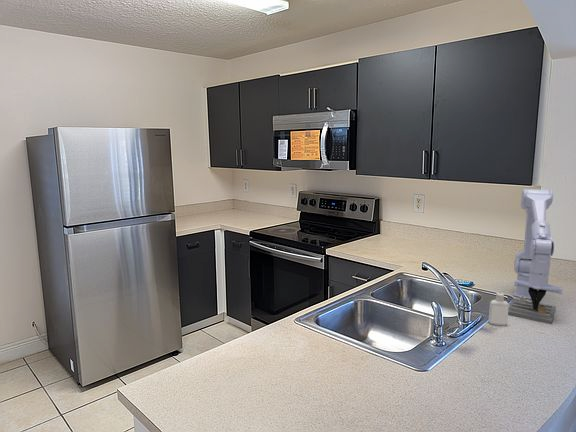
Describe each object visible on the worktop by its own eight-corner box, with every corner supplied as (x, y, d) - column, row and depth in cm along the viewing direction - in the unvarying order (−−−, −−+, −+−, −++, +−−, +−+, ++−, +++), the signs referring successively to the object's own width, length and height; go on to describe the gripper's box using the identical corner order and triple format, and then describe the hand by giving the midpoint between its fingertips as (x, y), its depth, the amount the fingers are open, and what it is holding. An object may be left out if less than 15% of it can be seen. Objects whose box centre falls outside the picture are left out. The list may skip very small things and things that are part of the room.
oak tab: (538, 311, 146) (539, 304, 145) (545, 313, 145) (546, 305, 144) (538, 313, 144) (539, 305, 144) (544, 314, 143) (545, 306, 143)
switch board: (513, 301, 160) (513, 296, 160) (555, 309, 152) (556, 304, 151) (506, 314, 147) (506, 308, 147) (551, 324, 139) (552, 318, 139)
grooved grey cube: (519, 301, 155) (520, 294, 155) (525, 302, 154) (526, 295, 154) (518, 303, 154) (519, 295, 153) (524, 304, 153) (525, 297, 152)
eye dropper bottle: (504, 327, 136) (508, 293, 134) (486, 323, 140) (489, 289, 138) (508, 323, 139) (511, 290, 137) (490, 319, 143) (493, 286, 141)
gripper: (514, 271, 144) (510, 307, 147) (563, 279, 136) (558, 317, 138) (517, 266, 150) (513, 301, 152) (564, 274, 141) (560, 311, 144)
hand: (535, 308), depth 145 cm, fingers closed
